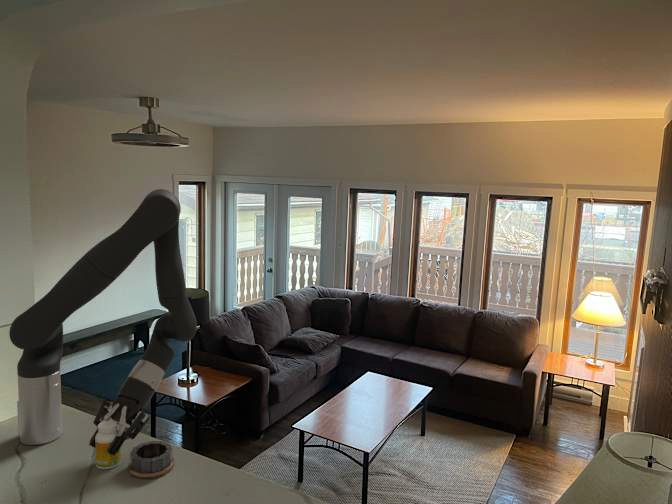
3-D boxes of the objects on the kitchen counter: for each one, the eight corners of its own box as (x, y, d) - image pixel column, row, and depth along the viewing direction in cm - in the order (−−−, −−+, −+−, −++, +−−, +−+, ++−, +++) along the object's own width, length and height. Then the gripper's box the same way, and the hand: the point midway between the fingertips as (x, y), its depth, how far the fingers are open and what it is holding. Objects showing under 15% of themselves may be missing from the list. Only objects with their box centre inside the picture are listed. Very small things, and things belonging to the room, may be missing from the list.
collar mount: (118, 471, 115) (118, 454, 114) (152, 451, 124) (152, 436, 123) (150, 484, 110) (150, 467, 110) (183, 462, 119) (183, 446, 119)
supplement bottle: (111, 471, 115) (110, 431, 113) (90, 468, 116) (89, 427, 114) (125, 459, 120) (125, 420, 119) (105, 455, 121) (105, 417, 120)
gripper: (112, 370, 125) (69, 436, 116) (155, 382, 119) (113, 453, 110) (130, 383, 130) (90, 447, 121) (172, 395, 124) (133, 464, 115)
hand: (101, 449), depth 116 cm, fingers closed on supplement bottle, 5 cm apart
